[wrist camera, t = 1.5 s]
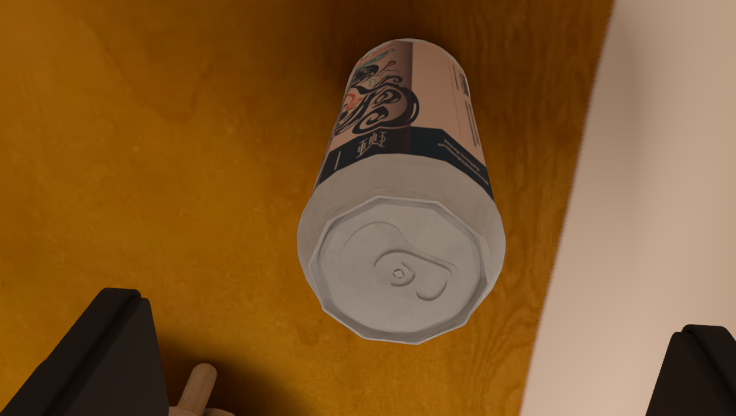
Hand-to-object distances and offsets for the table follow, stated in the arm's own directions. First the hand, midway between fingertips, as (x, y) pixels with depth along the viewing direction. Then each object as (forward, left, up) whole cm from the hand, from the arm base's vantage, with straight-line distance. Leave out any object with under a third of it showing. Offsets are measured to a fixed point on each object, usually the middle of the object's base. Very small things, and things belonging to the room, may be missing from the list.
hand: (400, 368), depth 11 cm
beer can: (0, 0, -15) cm, 15 cm away
